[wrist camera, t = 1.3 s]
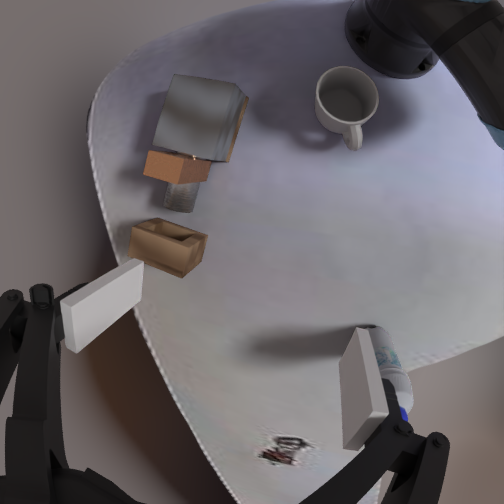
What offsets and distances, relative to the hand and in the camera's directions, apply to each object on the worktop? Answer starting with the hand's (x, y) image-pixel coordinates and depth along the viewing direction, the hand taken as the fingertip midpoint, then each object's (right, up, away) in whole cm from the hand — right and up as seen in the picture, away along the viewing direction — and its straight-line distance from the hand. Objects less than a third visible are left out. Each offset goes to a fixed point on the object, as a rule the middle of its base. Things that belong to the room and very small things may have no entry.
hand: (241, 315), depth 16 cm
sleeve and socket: (-8, +15, +25) cm, 31 cm away
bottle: (+20, -11, +27) cm, 36 cm away
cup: (+13, +22, +20) cm, 32 cm away
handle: (-7, +19, +23) cm, 30 cm away
